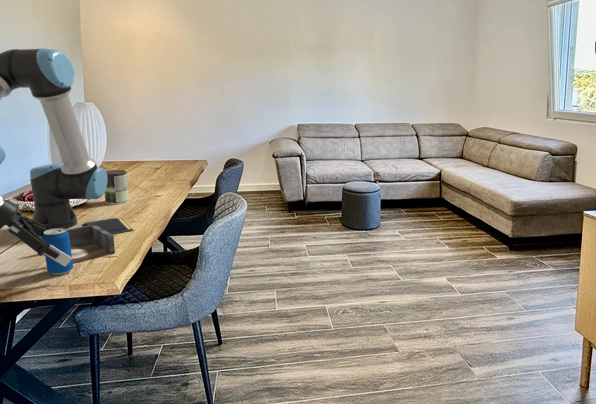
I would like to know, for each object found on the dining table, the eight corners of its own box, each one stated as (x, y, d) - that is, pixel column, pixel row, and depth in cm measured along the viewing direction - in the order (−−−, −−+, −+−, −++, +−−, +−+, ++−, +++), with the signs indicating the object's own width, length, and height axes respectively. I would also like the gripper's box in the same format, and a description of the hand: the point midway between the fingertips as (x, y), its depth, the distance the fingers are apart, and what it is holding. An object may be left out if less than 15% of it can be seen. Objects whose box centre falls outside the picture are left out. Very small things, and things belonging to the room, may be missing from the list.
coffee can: (104, 205, 199) (100, 174, 195) (106, 200, 208) (103, 170, 205) (128, 203, 202) (125, 173, 198) (129, 198, 211) (127, 169, 208)
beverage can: (77, 267, 129) (72, 227, 126) (67, 276, 123) (61, 234, 120) (54, 267, 129) (49, 227, 126) (43, 276, 123) (36, 234, 120)
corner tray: (43, 252, 140) (41, 234, 139) (96, 241, 151) (93, 224, 150) (60, 266, 129) (57, 247, 128) (115, 253, 140) (113, 234, 139)
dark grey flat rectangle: (81, 221, 170) (122, 215, 178) (81, 226, 171) (123, 220, 179) (88, 235, 154) (134, 227, 162) (88, 240, 154) (134, 232, 162)
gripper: (-11, 210, 125) (57, 251, 136) (-22, 234, 104) (59, 281, 114) (8, 189, 126) (74, 232, 137) (1, 209, 105) (79, 257, 116)
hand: (67, 254), depth 126 cm, fingers open, 13 cm apart
